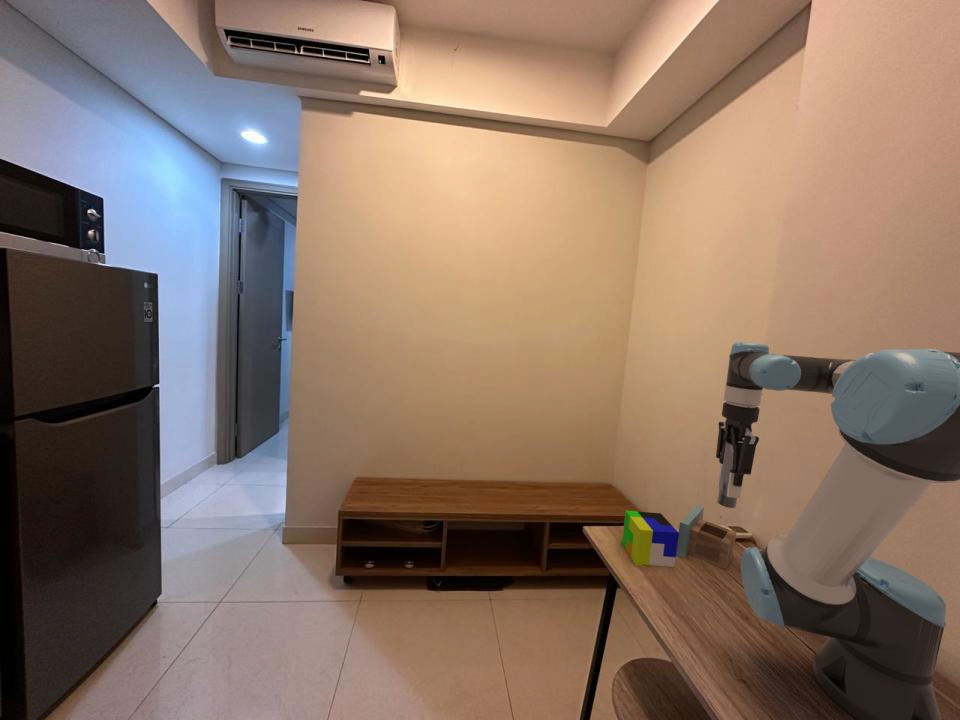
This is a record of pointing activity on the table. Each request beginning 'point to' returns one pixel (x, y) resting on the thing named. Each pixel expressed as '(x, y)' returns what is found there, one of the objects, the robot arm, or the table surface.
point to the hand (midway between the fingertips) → (728, 492)
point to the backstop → (687, 529)
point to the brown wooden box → (712, 543)
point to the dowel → (726, 478)
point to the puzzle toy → (650, 539)
